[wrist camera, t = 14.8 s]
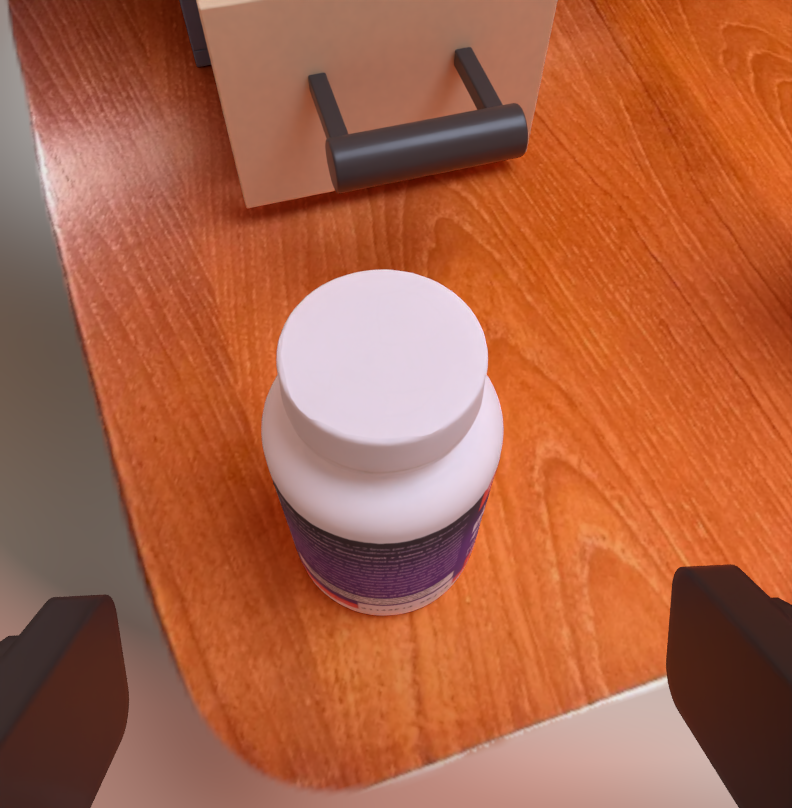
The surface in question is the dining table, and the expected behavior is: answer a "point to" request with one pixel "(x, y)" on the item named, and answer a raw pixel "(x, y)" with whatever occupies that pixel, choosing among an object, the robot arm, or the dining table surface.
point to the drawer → (372, 88)
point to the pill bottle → (382, 437)
